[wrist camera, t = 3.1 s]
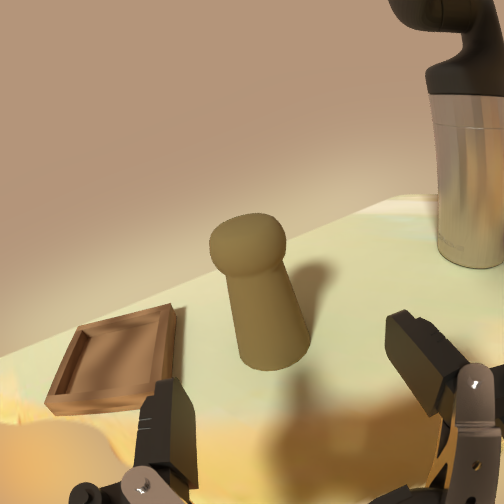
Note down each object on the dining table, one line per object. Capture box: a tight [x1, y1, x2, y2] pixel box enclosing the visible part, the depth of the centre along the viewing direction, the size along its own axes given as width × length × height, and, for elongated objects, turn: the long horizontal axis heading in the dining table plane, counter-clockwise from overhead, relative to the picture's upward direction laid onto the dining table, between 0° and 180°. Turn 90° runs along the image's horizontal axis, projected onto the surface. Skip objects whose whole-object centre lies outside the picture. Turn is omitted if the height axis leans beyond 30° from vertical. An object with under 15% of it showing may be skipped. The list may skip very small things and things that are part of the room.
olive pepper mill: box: [209, 213, 310, 371], centre depth 22 cm, size 6×6×11 cm
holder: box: [44, 303, 176, 416], centre depth 25 cm, size 12×12×2 cm
